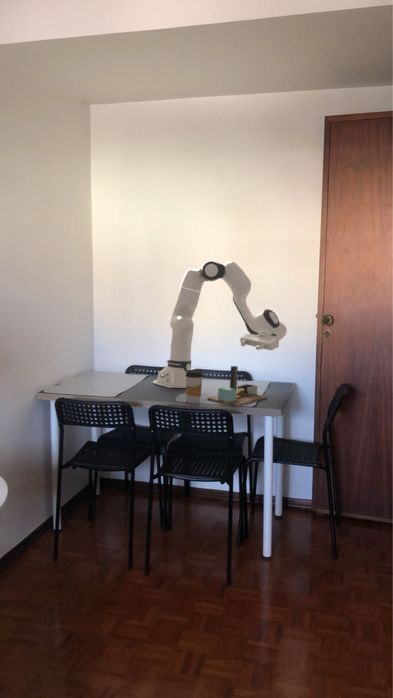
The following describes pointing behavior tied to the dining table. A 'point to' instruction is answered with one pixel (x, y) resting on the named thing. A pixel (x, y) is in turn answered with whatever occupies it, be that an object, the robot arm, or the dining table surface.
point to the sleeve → (248, 390)
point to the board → (239, 400)
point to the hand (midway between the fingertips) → (249, 346)
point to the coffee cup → (193, 385)
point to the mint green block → (227, 394)
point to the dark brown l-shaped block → (235, 381)
